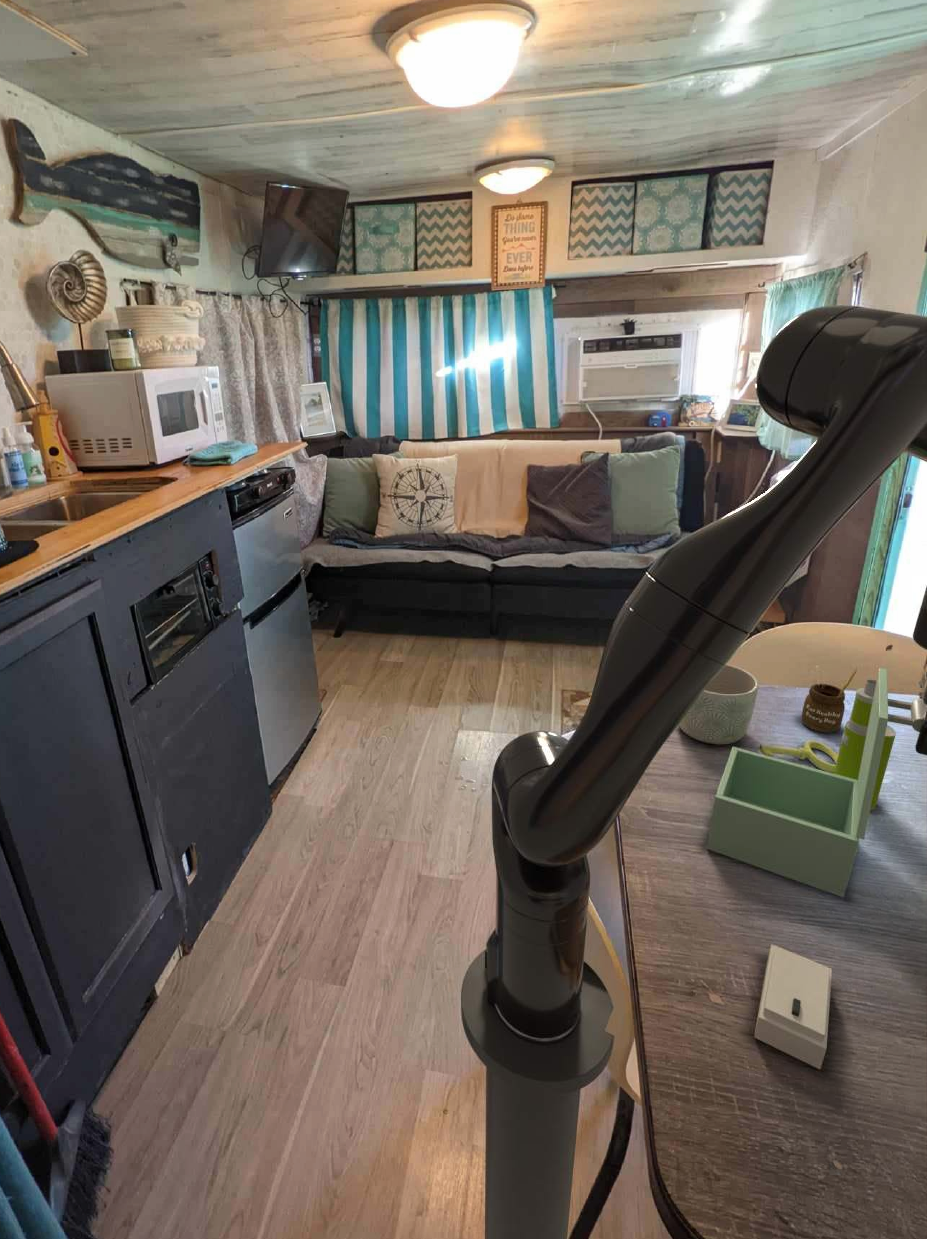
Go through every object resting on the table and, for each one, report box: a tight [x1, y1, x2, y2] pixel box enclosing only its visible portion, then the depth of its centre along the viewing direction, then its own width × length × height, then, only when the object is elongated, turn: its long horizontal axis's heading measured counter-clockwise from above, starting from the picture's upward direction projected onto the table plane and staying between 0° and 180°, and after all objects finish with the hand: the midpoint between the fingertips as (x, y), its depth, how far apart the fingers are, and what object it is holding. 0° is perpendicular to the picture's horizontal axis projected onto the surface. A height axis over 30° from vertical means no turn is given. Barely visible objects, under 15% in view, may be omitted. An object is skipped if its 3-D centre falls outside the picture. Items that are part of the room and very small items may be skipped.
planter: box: [678, 663, 760, 745], centre depth 112 cm, size 12×12×11 cm
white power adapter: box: [753, 944, 833, 1070], centre depth 66 cm, size 10×6×4 cm, turn 144°
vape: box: [833, 679, 897, 811], centre depth 92 cm, size 4×6×20 cm, turn 79°
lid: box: [856, 667, 926, 840], centre depth 77 cm, size 16×14×5 cm
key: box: [758, 740, 839, 773], centre depth 104 cm, size 7×12×2 cm, turn 99°
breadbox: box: [706, 746, 860, 898], centre depth 87 cm, size 16×14×9 cm
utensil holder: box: [800, 666, 858, 734], centre depth 112 cm, size 6×6×12 cm
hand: (925, 741), depth 75 cm, fingers closed on lid, 5 cm apart
